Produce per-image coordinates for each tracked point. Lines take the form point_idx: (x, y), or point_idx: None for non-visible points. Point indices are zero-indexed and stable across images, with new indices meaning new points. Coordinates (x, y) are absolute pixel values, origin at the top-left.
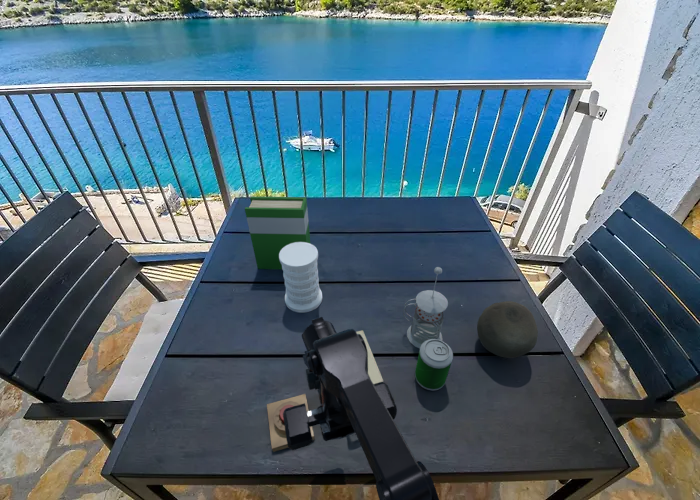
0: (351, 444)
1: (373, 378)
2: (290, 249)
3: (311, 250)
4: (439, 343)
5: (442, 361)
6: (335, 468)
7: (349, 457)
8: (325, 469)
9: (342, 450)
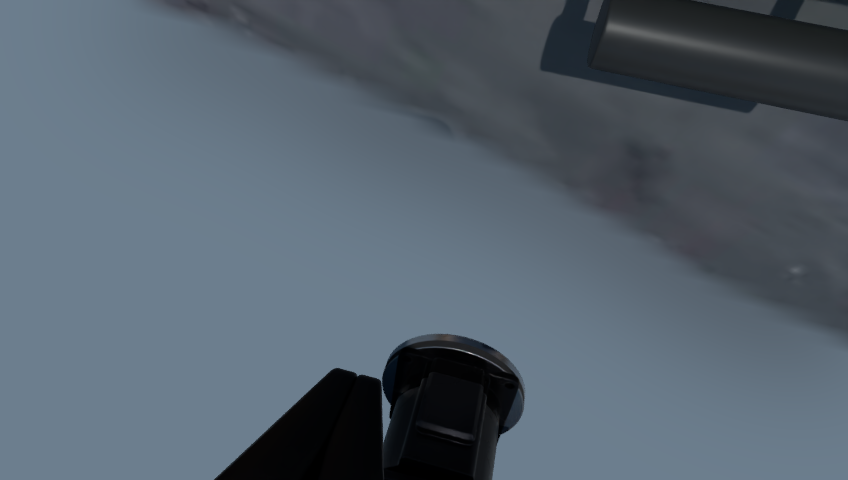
0: (576, 40)
1: None
2: None
3: None
4: None
5: None
6: (420, 114)
7: (521, 103)
8: (366, 91)
9: (502, 45)
